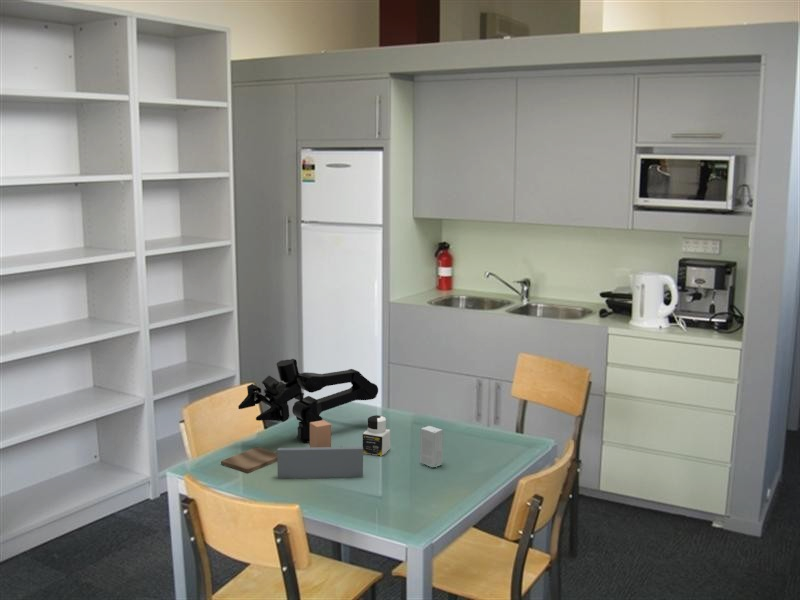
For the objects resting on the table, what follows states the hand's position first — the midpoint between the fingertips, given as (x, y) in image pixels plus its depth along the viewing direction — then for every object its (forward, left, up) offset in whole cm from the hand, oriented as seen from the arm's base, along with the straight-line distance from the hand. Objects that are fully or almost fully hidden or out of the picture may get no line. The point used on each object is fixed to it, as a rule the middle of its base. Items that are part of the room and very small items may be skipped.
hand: (247, 413), depth 273 cm
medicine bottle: (-38, +18, -15) cm, 45 cm away
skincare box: (-47, +37, -15) cm, 62 cm away
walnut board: (+1, +6, -14) cm, 15 cm away
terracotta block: (-16, +20, -14) cm, 29 cm away
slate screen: (-13, +26, -14) cm, 32 cm away
